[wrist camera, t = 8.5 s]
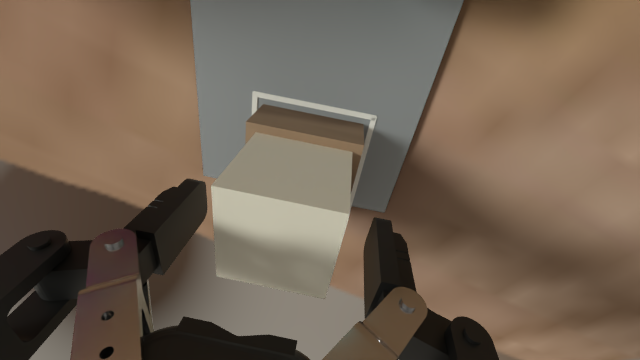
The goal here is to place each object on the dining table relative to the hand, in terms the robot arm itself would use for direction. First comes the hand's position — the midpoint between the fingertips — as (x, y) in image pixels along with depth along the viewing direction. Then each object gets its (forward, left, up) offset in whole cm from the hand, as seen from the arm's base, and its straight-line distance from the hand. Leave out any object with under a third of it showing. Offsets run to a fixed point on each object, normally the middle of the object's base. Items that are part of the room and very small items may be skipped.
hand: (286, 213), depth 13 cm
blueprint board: (-6, 0, -6) cm, 8 cm away
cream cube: (0, 0, -3) cm, 3 cm away
